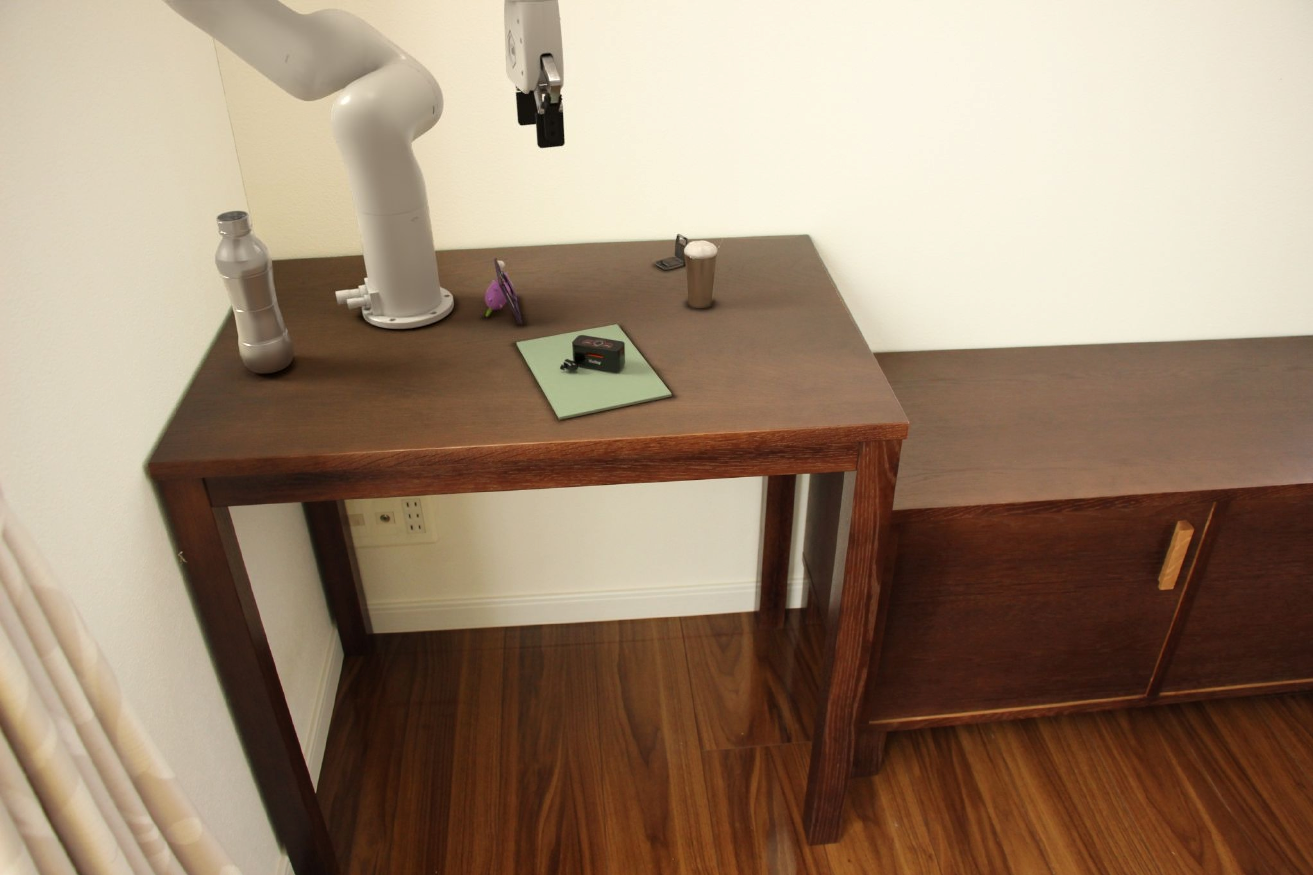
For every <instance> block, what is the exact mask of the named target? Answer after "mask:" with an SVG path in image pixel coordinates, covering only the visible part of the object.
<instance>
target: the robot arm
mask: <svg viewBox="0 0 1313 875" xmlns="http://www.w3.org/2000/svg"><path fill="white" fill-rule="evenodd" d="M162 1H163V3H164V4H166V5H167V7H169V8H170V9H171V10H172V11H173V12H175V14H177V15H179V16H180V17H182V18H183V19H184V20H186V21H187V22H189V23H191V24H192V25H193V26H195V27H196V28H198V29H200V31H203V32H204V33H206V34H207V35H208V36H210V37H211V38H213V39H214V40H216V41H218V42H219V43H220V44H221V45H223V46H224V47H226V48H227V49H228V50H229V51H231V52H232V53H233V54H234V55H236V56H237V57H238V58H239V59H241V60H242V61H244V63H246V64H248V65H249V66H250V67H252V68H253V69H254V70H256V71H257V72H258V73H259V74H261V75H262V76H264V77H265V78H266V79H268V80H269V81H270V82H272V83H273V84H275V85H276V87H279V88H280V89H281V90H283V91H284V92H285V93H287V94H288V95H290V96H292V97H293V98H295V99H297V100H300V101H304V102H313V101H318V100H322V99H325V98H327V97H329V96H331V95H333V94H335V93H337V92H339V93H338V94H337V96H336V97H335V99H334V101H333V104H332V107H331V111H330V125H331V131H332V134H333V137H334V140H335V143H336V145H337V148H338V150H339V154H340V156H341V159H342V162H343V165H344V168H345V171H346V175H347V179H348V183H349V189H350V194H351V199H352V202H353V208H354V213H355V219H356V224H357V230H358V234H359V239H360V245H361V250H362V255H363V256H362V257H363V261H364V265H365V266H364V267H365V271H366V277H364V278H363V280H364V284H361V285H358V288H353V289H343V290H337V291H336V290H335V297H336V298H335V299H336V302H337V306H342V305H347V308H348V310H353V309H358V308H361V312H362V317H363V319H364V320H365V321H366V322H368V323H369V324H371V325H372V326H376V327H379V328H383V329H392V330H405V329H413V328H414V329H415V328H420V327H421V328H422V327H424V326H427V325H431V324H433V323H434V324H435V323H437V322H438V321H441V320H442V319H444V318H445V317H447V316H448V315H450V313H451V312H452V311H453V309H454V308H455V306H454V305H455V300H454V296H453V294H452V293H451V291H449V290H448V289H446V288H444V287H442V286H441V284H440V283H441V282H440V275H439V269H438V268H439V267H438V263H437V262H438V261H437V256H436V248H435V247H436V246H435V240H434V234H433V227H432V226H433V225H432V220H431V214H430V206H429V199H428V192H427V187H426V181H425V177H424V174H423V171H422V168H421V166H420V164H419V162H418V159H417V157H416V155H415V153H414V150H413V147H412V146H413V144H412V143H413V142H414V141H416V140H417V139H419V138H420V137H422V136H423V135H425V134H426V133H427V132H429V131H430V130H431V129H433V128H434V127H435V125H436V124H437V123H438V122H439V120H440V119H441V117H442V115H443V111H444V105H445V104H444V102H445V101H444V95H443V91H442V88H441V86H440V84H439V82H438V81H437V79H436V78H435V76H434V75H433V73H432V72H431V71H430V70H429V69H428V68H427V67H426V66H425V65H423V64H422V63H421V62H420V61H419V60H417V59H416V58H415V57H413V56H412V54H409V53H408V51H406V50H405V49H403V48H402V47H400V45H398V44H396V43H395V42H394V41H393V40H391V39H390V38H388V36H386V35H385V34H383V33H382V32H381V31H379V30H378V29H377V28H375V27H374V26H372V25H371V24H370V23H369V22H367V21H366V20H364V19H363V18H361V17H360V16H357V15H355V14H354V13H351V12H349V11H346V10H343V9H338V8H325V9H320V10H316V11H314V12H311V13H307V14H306V13H305V14H303V13H300V12H297V11H295V10H293V9H292V8H290V7H289V6H287V5H286V4H284V3H283V2H281V1H280V0H162ZM503 4H504V5H503V6H504V11H503V12H504V13H503V17H504V18H503V19H504V22H503V24H504V50H505V51H504V52H505V70H506V75H507V78H508V80H509V81H511V82H512V83H513V84H514V86H515V90H516V91H515V102H516V115H517V124H519V126H521V127H522V126H532V125H533V126H535V131H536V132H535V133H536V145H537V147H538V148H539V149H547V148H548V149H549V148H557V147H559V148H560V147H563V146H564V145H565V144H566V143H565V142H566V141H565V140H566V138H565V122H564V120H565V119H564V105H563V94H561V91H562V89H563V87H564V86H565V85H564V84H565V66H564V50H563V49H564V48H563V36H562V25H561V14H560V6H559V0H504V2H503ZM543 95H544V96H543Z"/></svg>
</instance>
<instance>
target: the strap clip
mask: <svg viewBox="0 0 1313 875" xmlns="http://www.w3.org/2000/svg"><path fill="white" fill-rule="evenodd" d="M680 239H683V240H684V241H685V244H684V243H682V242H681V241H680ZM688 243H690V240H689V238H688V237H687V236H684V235H682V234H681V233H677V234H676V237H675V243H674V244H675V245H674V256H671V257H666V258H663V259H659V260H656V261H655V262H654V264H655V266H657V267H659V268H661V269H663V270H674V269H676V268H680V267H682V266H684V264H685V255H684V249H685V247H686V246H687V245H688Z"/></svg>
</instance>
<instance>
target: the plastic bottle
mask: <svg viewBox="0 0 1313 875" xmlns="http://www.w3.org/2000/svg"><path fill="white" fill-rule="evenodd" d="M250 218H251V217H250V215H249V212H248V211H244V210H230V211H227V212H222V213H220V214H218V215H217V216H216V224H217V230H218V235H220V236H222V238H221V239H220V242H219V244H218V245H217V249H216V252H215V253H214V254H215V257H214V264H215V267H216V270H217V272H218V274H219V277H220V279H221V281H222V283H223V286H224V288H225V290H226V293H227V295H228V299H229V301H230V302H229V303H230V304H231V308H232V310H233V315H234V319H235V324H236V331H237V337H238V338H237V343H238V352H239V357H240V358H241V360H242V363H243V364H244V366H245V367H246V368H247V369H249V370H250V371H251V372H253V373H256V374H263V375H264V374H273V373H276V372H277V373H278V372H280V371H282V370H284V369H286V368H288V367H289V366H290V365H291V364H292V362H293V360H294V356H295V350H294V348H295V347H294V342H293V339H292V337H291V334H290V333H289V330H288V328H287V327H286V324H285V321H284V318H283V315H282V312H281V309H280V306H279V303H278V297H277V291H276V286H275V278H274V267H273V259H272V254H271V251H270V250H269V248H268V246H267V245H266V244H265V243H264V242H263V241H262V240H261V239H260V238H258V236H256V235H255V234H254V233H253V232H252V231H253V230H254V226H253V224H252V222H251V219H250Z"/></svg>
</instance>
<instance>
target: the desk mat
mask: <svg viewBox="0 0 1313 875" xmlns="http://www.w3.org/2000/svg"><path fill="white" fill-rule="evenodd" d="M579 335H586V336H593V337H599V338H605V339H611V340H617V341H623V342H624V343H625V364H624V366H623V367H622V368H621V370H620V371H619V372H617V373H614V372H609V371H603V370H597V369H591V368H586V367H580V366H578V369H577V370H575V371H571V370H567V369H565V368H564V369H565V370H561V369H560V366H561V364H562V365H564V364H563V363H564V361H565V360H566V359H569V360H572V361H573V351H572V342H573V341H574V340H575V339H576V337H577V336H579ZM516 347H517V348H518V350H519V351H520V353H521V355H522V357H523V358H524V360H525V362H526V364H527V366H528V367H529V369H530V370H531V372H532V374H533V376H534V378H535V380H536V381H537V383H538V385H539V386H540V388H541V390H542V392H543V394H544V395H545V397H546V399H547V401H548V402H549V404H550V406H551V408H552V410H553V411H554V413H555V415H556V417H557V418H558V420H559V421H561V420H566V419H570V418H576V417H581V416H584V415H591V414H595V413H600V412H605V411H608V410H609V411H610V410H614V409H619V408H624V407H627V406H634V405H638V404H642V403H647V402H653V401H656V400H661V399H662V400H663V399H667V398H672V397H673V394H672V392H671V391H670V390H669V389H668V387H667V386H666V384H664V382H663V381H662V379H661V378H660V377H659V376H658V375H657V373H656V372H655V371H654V369H653V368H652V367H651V366H650V364H649V363H648V361H646V359H645V358H644V357H643V356H642V354H641V353H640V351H639V349H637V348H636V346H635V345H634V344H633V343H632V341H631V340H630V338H629V337H628V336H627V335H626V333H625V332H624V331H623V330H622V329H621V327H620V326H619V324H618V323H616V324H609V325H604V326H599V327H594V328H587V329H583V330H576V331H572V332H571V331H570V332H565V333H560V334H555V335H549V336H544V337H539V338H532V339H528V340H521V341H516Z"/></svg>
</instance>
